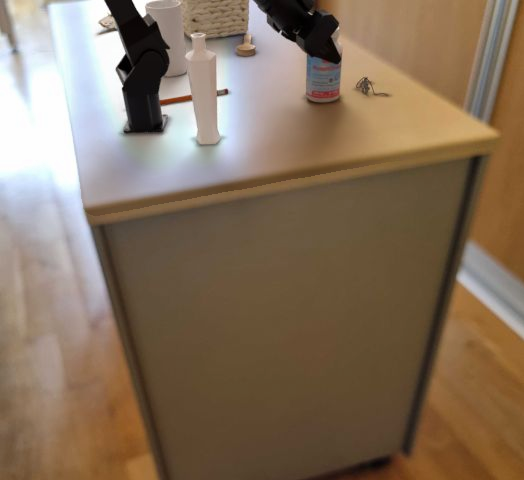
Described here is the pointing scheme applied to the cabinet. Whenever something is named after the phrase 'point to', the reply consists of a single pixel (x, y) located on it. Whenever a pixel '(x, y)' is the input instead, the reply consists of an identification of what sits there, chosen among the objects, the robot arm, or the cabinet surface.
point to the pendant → (366, 85)
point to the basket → (215, 17)
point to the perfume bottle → (203, 89)
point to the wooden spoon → (246, 46)
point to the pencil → (187, 97)
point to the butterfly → (108, 22)
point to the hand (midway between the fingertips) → (331, 56)
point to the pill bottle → (324, 76)
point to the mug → (170, 32)
